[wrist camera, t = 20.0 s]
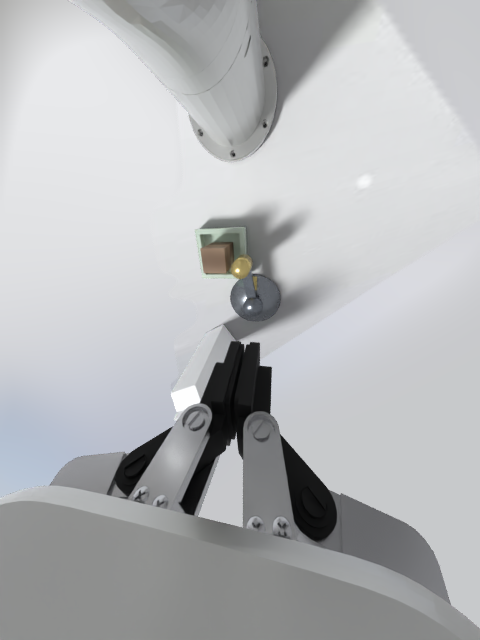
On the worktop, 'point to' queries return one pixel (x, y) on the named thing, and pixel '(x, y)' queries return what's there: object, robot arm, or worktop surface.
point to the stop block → (217, 257)
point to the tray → (222, 235)
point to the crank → (247, 285)
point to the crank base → (264, 295)
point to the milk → (200, 368)
